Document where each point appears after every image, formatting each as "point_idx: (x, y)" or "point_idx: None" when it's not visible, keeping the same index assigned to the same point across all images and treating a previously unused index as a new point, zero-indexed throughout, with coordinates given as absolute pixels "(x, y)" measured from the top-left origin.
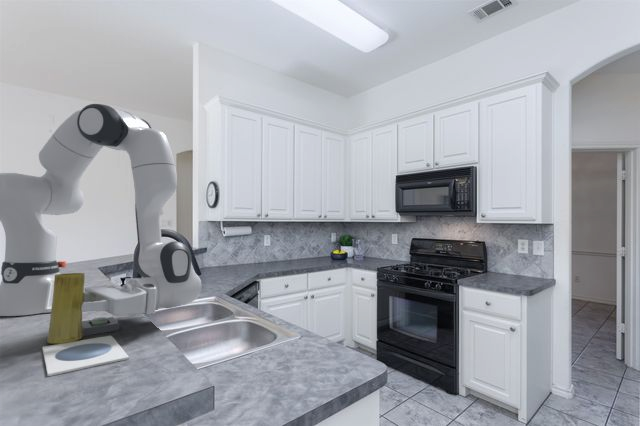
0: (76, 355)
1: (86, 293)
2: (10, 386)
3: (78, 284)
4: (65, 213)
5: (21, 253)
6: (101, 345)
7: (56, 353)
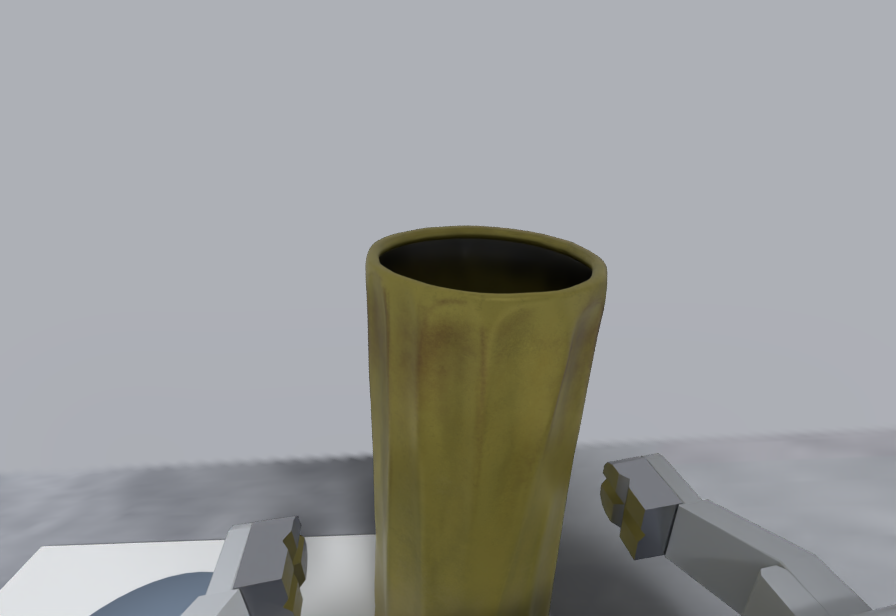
0: None
1: (767, 588)
2: (105, 476)
3: (387, 372)
4: None
5: None
6: None
7: None
